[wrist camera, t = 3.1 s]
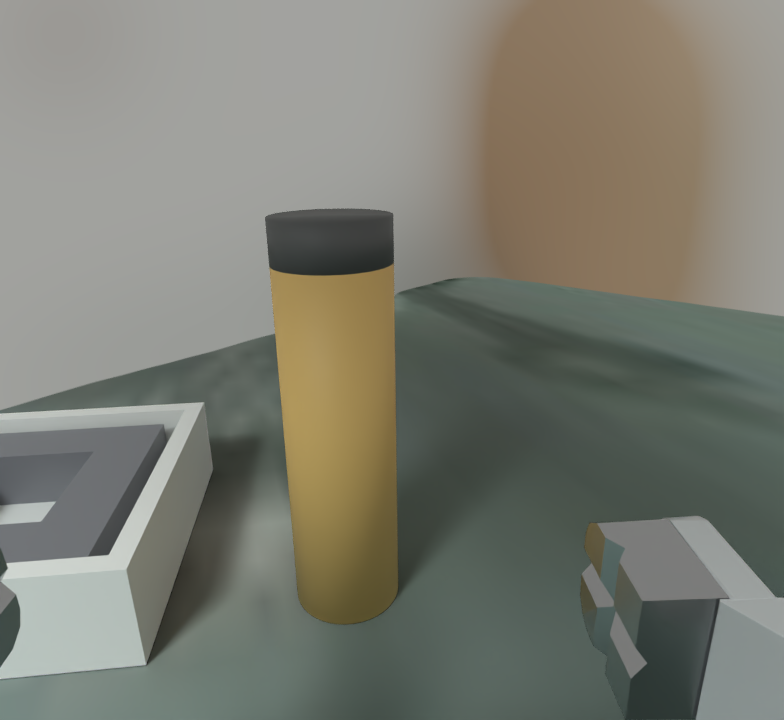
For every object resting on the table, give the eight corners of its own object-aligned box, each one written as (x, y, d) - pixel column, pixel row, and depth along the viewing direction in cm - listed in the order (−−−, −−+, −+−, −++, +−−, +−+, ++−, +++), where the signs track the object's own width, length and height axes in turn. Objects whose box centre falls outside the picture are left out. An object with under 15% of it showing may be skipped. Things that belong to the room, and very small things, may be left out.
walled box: (-308, 708, 19) (-366, 609, 17) (-60, 487, 31) (-83, 418, 30) (146, 665, 20) (126, 569, 19) (213, 469, 32) (204, 402, 31)
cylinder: (295, 629, 22) (259, 225, 17) (299, 557, 25) (270, 210, 20) (404, 619, 22) (400, 221, 17) (392, 549, 26) (386, 207, 21)
